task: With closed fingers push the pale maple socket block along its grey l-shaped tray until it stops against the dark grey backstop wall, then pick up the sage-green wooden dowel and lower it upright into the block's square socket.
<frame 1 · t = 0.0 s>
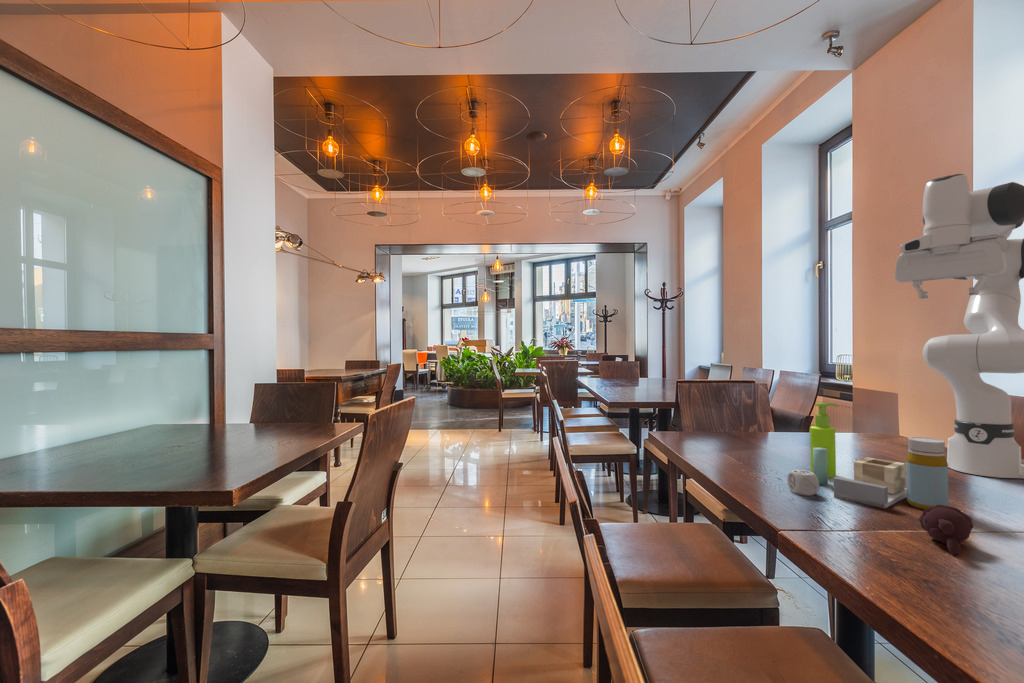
hand: (947, 296, 116), 48 cm above the table, tool pointing down, fingers open, 8 cm apart
grey l-shaped tray: (873, 495, 114), on the table
die: (803, 493, 117), on the table
dowel: (820, 483, 124), on the table
bottle: (927, 507, 106), on the table
block: (879, 474, 116), point 4 cm above the table, slide at 0.0 cm
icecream: (945, 543, 87), on the table
soap dispenser: (825, 475, 132), on the table
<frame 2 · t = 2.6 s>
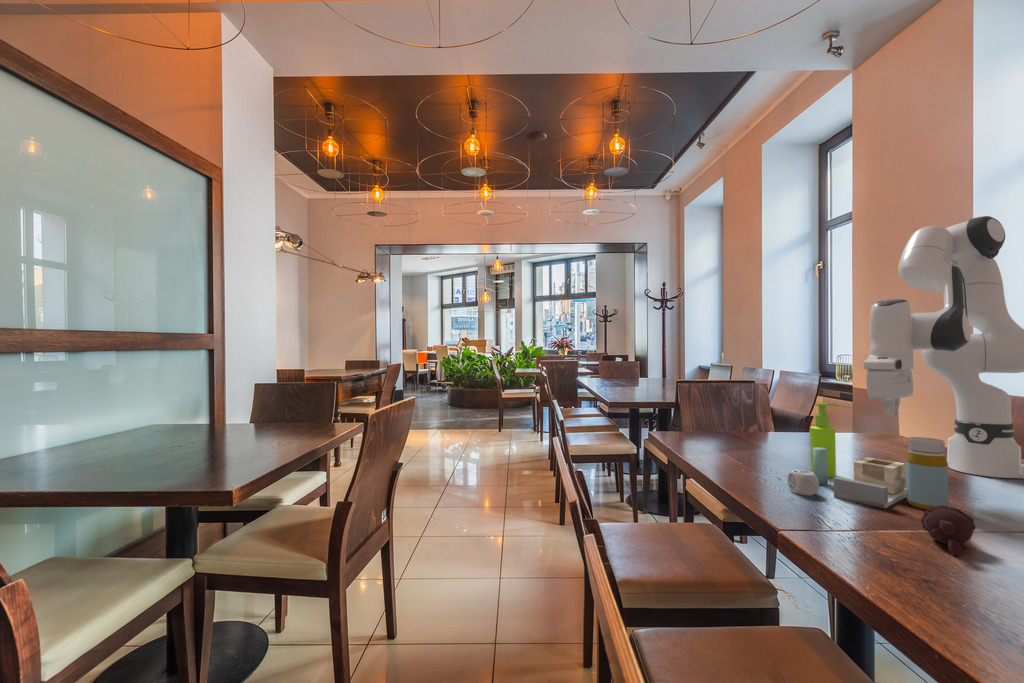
hand: (891, 415, 121), 18 cm above the table, tool pointing down, fingers closed
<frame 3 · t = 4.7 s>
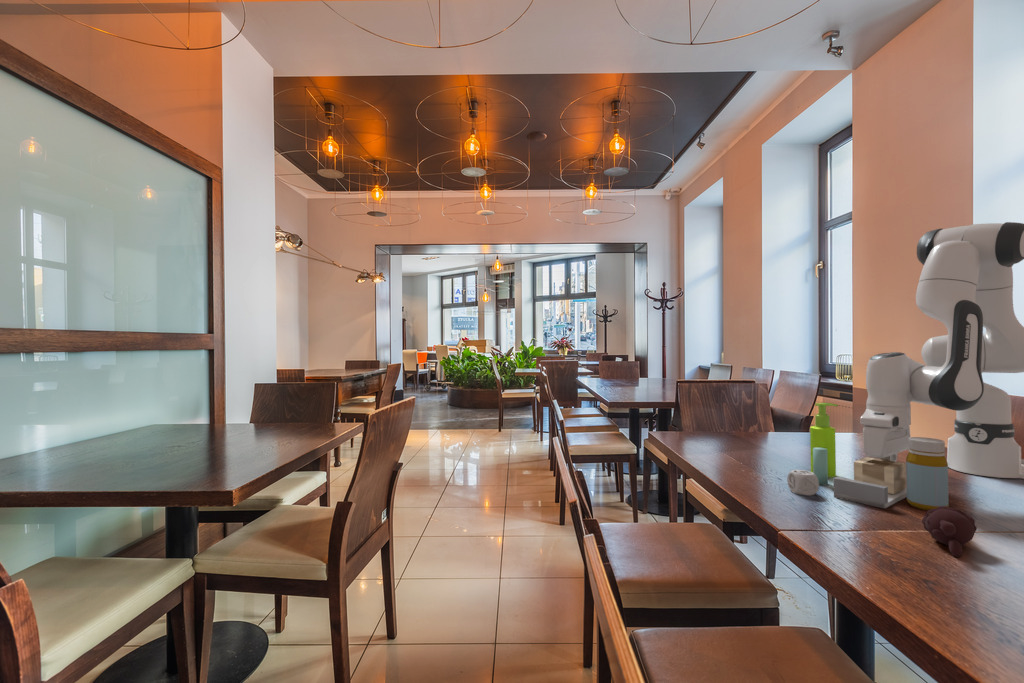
hand: (889, 471, 120), 4 cm above the table, tool pointing down, fingers closed
block: (879, 474, 116), point 4 cm above the table, slide at 0.0 cm, touching gripper
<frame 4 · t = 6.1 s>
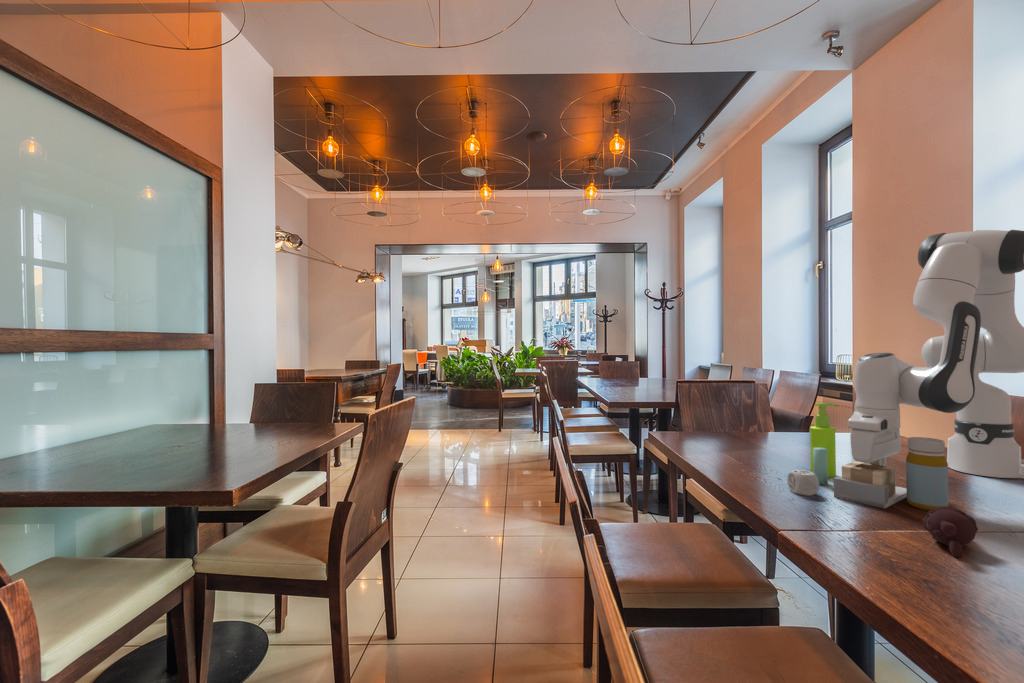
hand: (878, 475, 115), 4 cm above the table, tool pointing down, fingers closed
block: (868, 479, 112), point 4 cm above the table, slide at 7.0 cm, touching gripper, grey l-shaped tray
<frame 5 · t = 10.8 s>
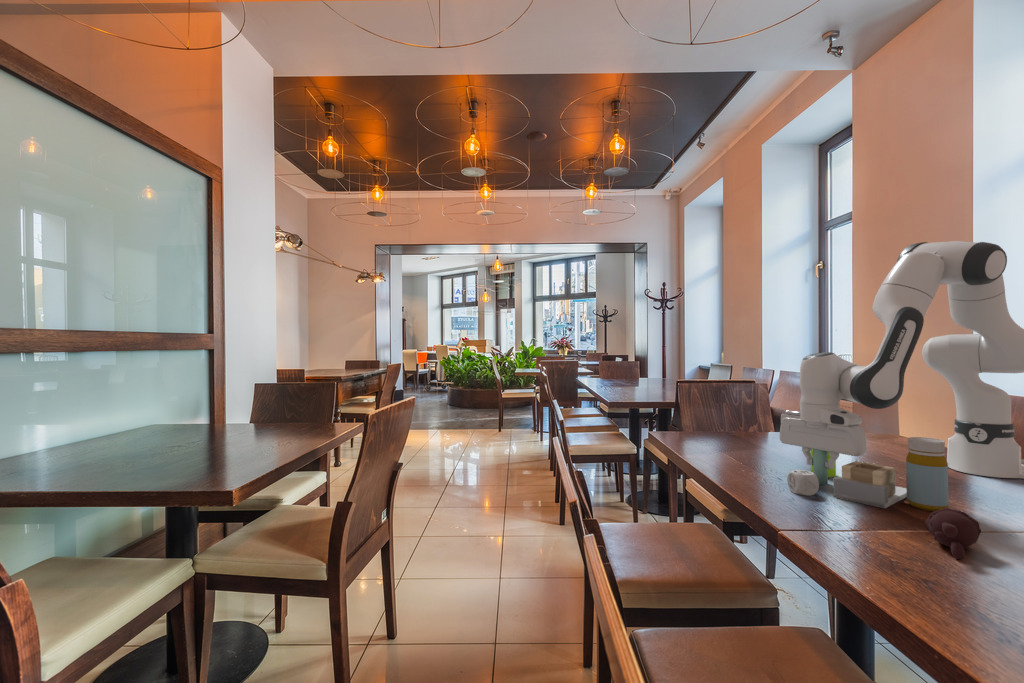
hand: (820, 466, 124), 4 cm above the table, tool pointing down, fingers closed on dowel, 3 cm apart
dowel: (820, 482, 124), on the table, touching gripper
block: (868, 479, 112), point 4 cm above the table, slide at 7.0 cm
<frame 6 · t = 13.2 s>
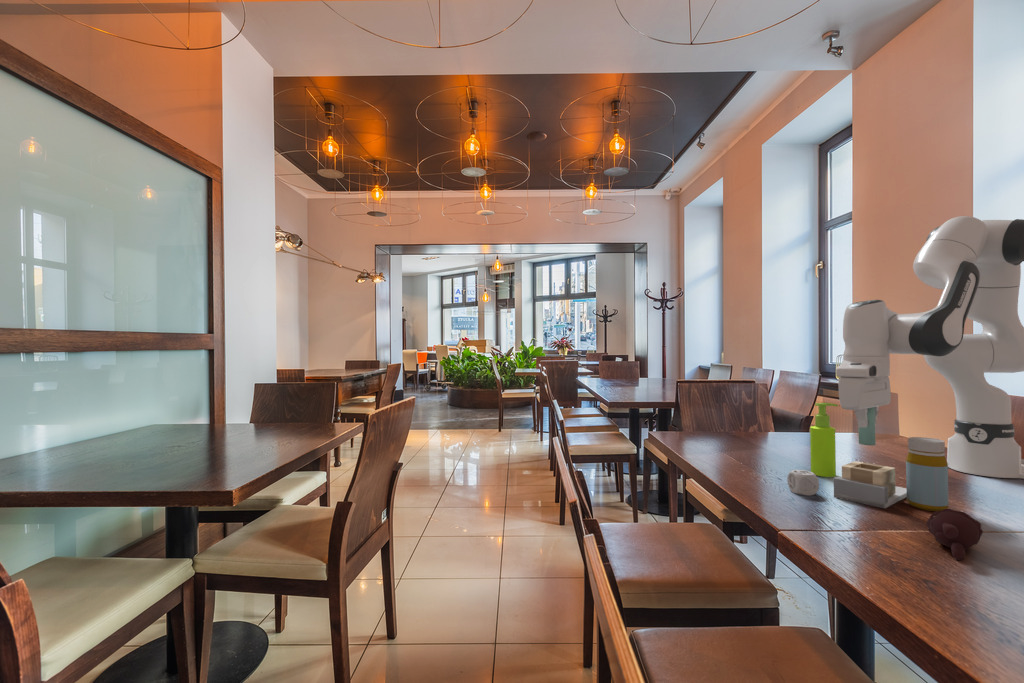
hand: (867, 426, 112), 17 cm above the table, tool pointing down, fingers closed on dowel, 3 cm apart
dowel: (867, 444, 112), point 13 cm above the table, touching gripper
when the fingers open (8 cm above the table, at t = 15.4 s): dowel drops 3 cm, resting on grey l-shaped tray.
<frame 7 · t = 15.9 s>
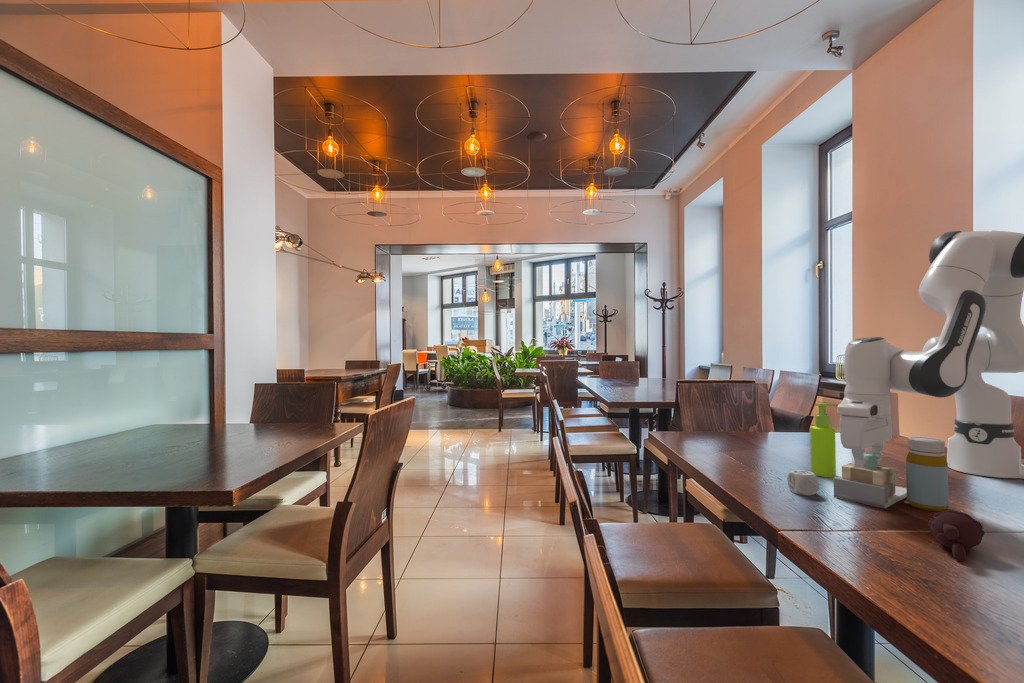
hand: (868, 463, 112), 8 cm above the table, tool pointing down, fingers open, 8 cm apart
dowel: (868, 493, 112), point 1 cm above the table, touching grey l-shaped tray
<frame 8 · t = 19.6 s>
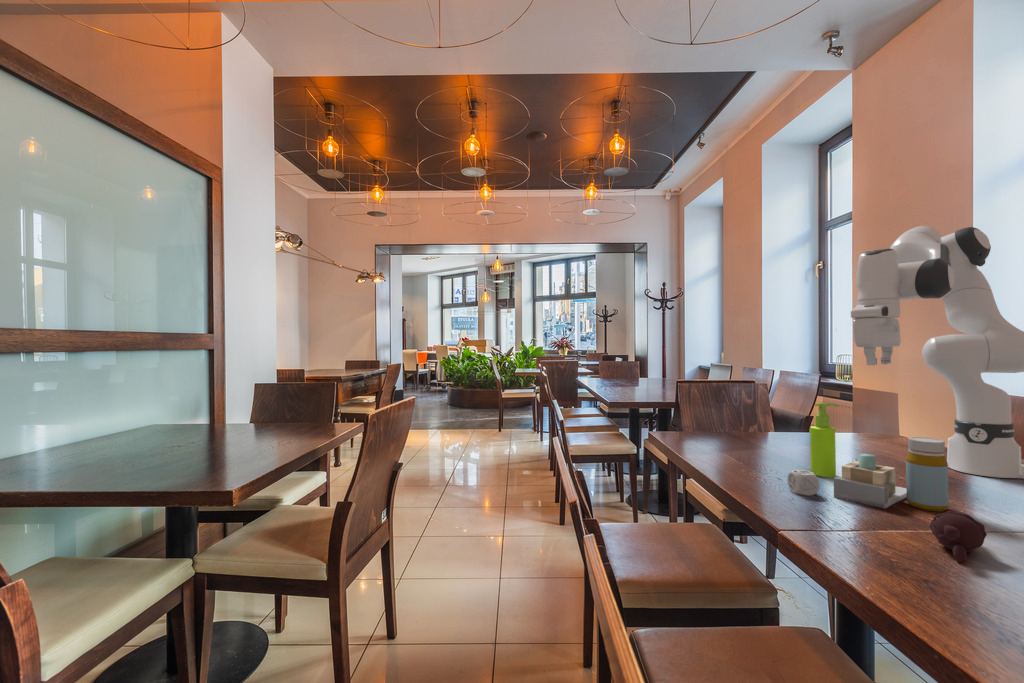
hand: (879, 364, 122), 31 cm above the table, tool pointing down, fingers open, 8 cm apart
at the end: block slide at 7.0 cm; dowel 0.0 cm from the target spot, point 1.0 cm above the table; dowel tilted 2° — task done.
